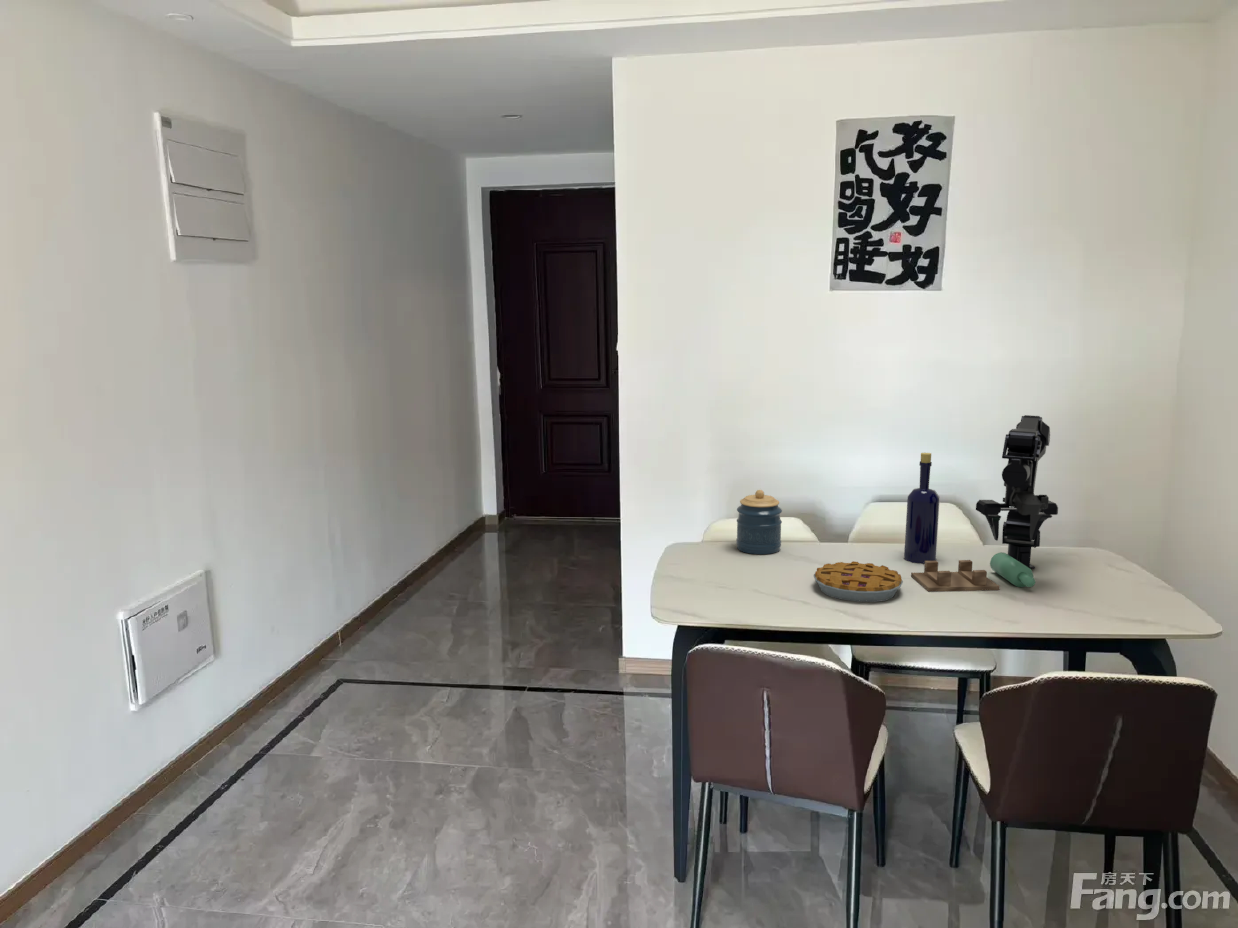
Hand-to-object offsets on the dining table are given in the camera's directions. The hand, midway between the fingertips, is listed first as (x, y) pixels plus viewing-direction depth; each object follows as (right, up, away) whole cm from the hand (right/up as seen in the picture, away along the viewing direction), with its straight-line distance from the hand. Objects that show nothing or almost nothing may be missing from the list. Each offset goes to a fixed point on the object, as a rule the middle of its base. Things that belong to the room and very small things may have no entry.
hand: (1014, 540), depth 226 cm
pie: (-41, -13, -3) cm, 43 cm away
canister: (-60, -6, +33) cm, 69 cm away
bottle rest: (-15, -11, +1) cm, 19 cm away
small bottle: (+1, -11, +1) cm, 11 cm away
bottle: (-17, -7, +22) cm, 28 cm away
